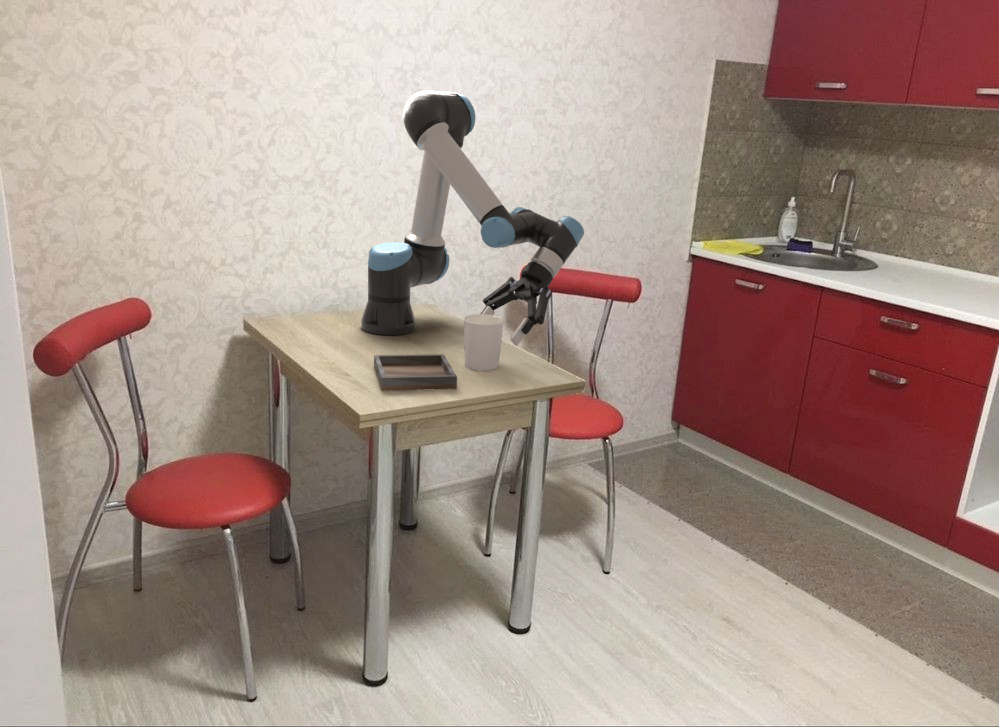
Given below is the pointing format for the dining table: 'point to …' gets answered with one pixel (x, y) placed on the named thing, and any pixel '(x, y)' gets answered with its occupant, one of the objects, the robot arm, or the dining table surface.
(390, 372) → the socket base
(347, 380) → the dining table surface
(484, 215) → the robot arm
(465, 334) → the candle holder
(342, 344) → the dining table surface
